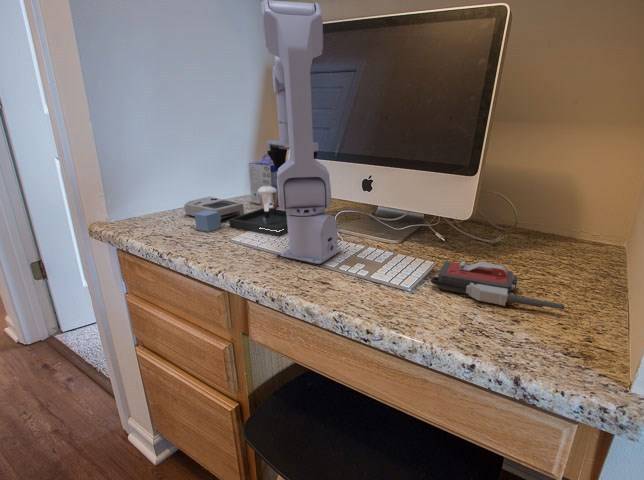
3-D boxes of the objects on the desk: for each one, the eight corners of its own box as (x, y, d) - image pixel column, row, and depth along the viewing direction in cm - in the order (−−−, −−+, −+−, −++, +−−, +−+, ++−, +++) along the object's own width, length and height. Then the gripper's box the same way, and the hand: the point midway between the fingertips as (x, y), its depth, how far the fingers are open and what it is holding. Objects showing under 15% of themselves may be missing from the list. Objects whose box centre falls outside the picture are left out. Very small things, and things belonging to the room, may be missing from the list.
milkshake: (279, 225, 93) (276, 184, 89) (258, 224, 93) (254, 184, 89) (284, 220, 97) (281, 181, 93) (264, 219, 97) (260, 180, 93)
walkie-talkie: (426, 293, 60) (563, 319, 53) (428, 268, 59) (569, 292, 52) (438, 273, 68) (559, 293, 61) (440, 250, 66) (565, 268, 59)
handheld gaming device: (211, 208, 109) (209, 195, 107) (245, 216, 102) (243, 202, 100) (183, 215, 102) (180, 202, 101) (217, 224, 95) (214, 209, 93)
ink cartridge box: (287, 204, 115) (283, 155, 109) (273, 207, 111) (269, 157, 105) (264, 199, 120) (260, 152, 114) (251, 203, 115) (245, 154, 110)
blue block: (221, 227, 92) (219, 211, 90) (208, 232, 89) (205, 215, 87) (209, 225, 94) (207, 209, 92) (196, 229, 90) (193, 213, 89)
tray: (311, 221, 97) (310, 214, 97) (278, 236, 87) (278, 227, 86) (265, 214, 104) (264, 207, 103) (229, 226, 93) (228, 219, 92)
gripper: (324, 123, 92) (326, 178, 97) (277, 121, 98) (281, 174, 103) (307, 124, 86) (310, 183, 91) (258, 122, 92) (264, 178, 97)
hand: (294, 178), depth 97 cm, fingers open, 7 cm apart
